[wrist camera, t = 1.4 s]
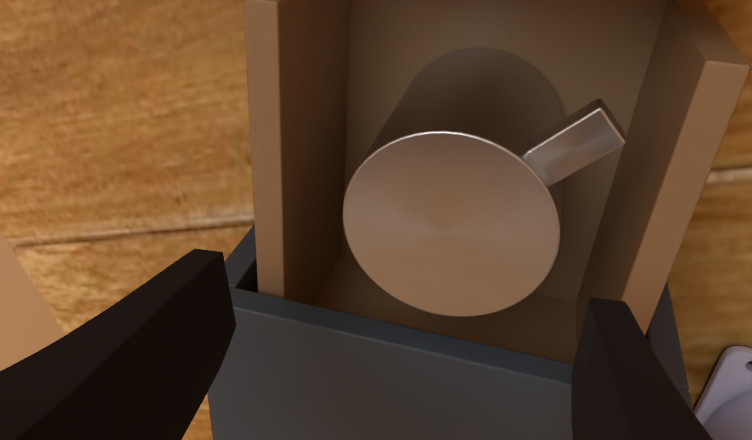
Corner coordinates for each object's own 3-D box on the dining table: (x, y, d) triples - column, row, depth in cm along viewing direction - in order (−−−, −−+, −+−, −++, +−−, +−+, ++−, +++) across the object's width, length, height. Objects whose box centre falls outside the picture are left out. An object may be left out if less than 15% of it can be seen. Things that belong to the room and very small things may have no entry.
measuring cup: (462, 225, 21) (429, 345, 16) (367, 110, 20) (299, 204, 15) (652, 116, 18) (682, 228, 13) (551, -30, 17) (542, 32, 12)
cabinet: (306, 157, 24) (194, 298, 17) (656, 221, 22) (696, 414, 15) (305, 416, 32) (229, 585, 25) (561, 483, 30) (557, 690, 22)
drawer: (318, -373, 15) (167, -488, 9) (846, -362, 13) (1052, -501, 7) (312, 245, 25) (237, 367, 19) (613, 308, 23) (626, 465, 17)
